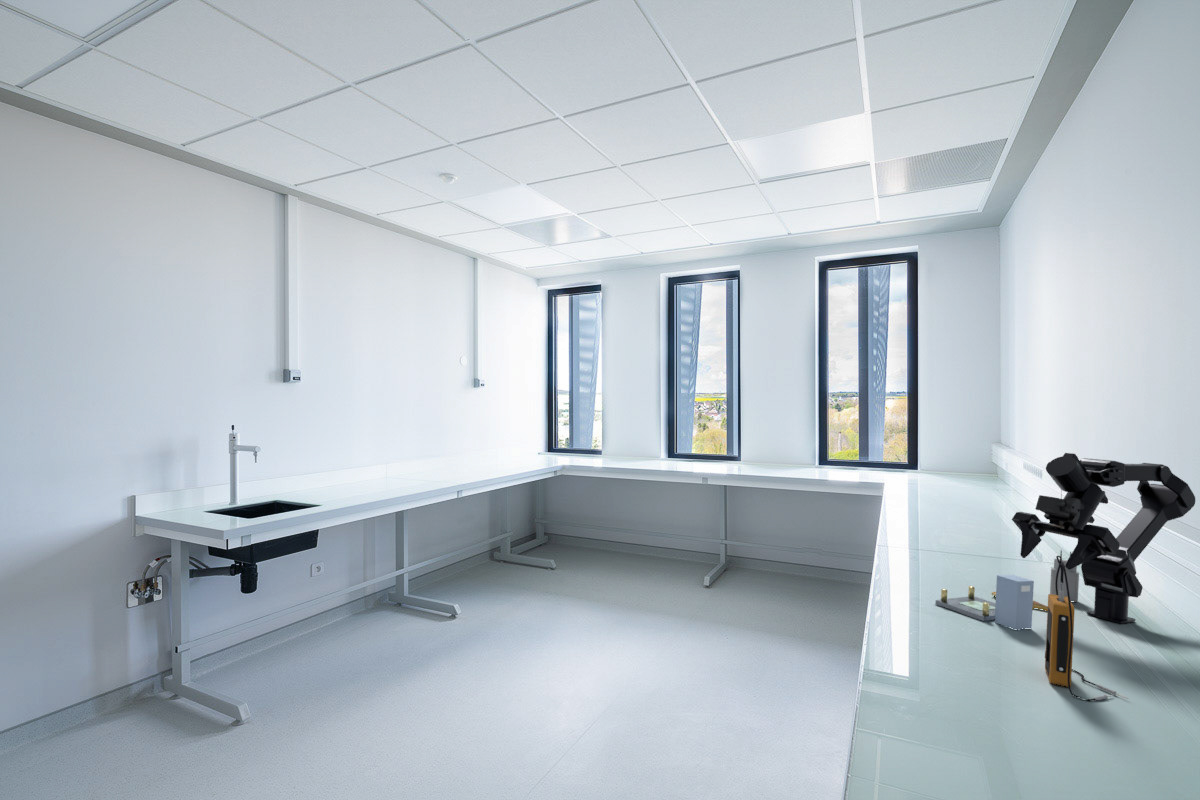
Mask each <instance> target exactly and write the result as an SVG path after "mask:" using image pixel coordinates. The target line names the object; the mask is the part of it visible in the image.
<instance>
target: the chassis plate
mask: <svg viewBox="0 0 1200 800" xmlns="http://www.w3.org/2000/svg"><path fill="white" fill-rule="evenodd" d="M975 590H976V589H975V586H972V585H969V586H968V594H967V596H961V597H952V598H948V589H945V588H941V590H940V591H941V593H940V599H936V600H935V606H938V605H939V606H938V607H941V606H942V607H941V608H944V607H945V608H944V609H947V608H948V610H949V609H951V610H950V611H952V610H954V611H953V612H955V611H956V612H955V613H958V614H962V615H964V616H967V617H969V618H972V619H975V620H978V621H980V620H982V621H981V622H983V621H984V622H989V621H988V620H992V621H995V620H994V619H995V604H996V602H994V601H990V600H986V599H984V598H980V597H978V596H975Z"/></svg>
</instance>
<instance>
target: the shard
mask: <svg viewBox="0 0 1200 800" xmlns="http://www.w3.org/2000/svg"><path fill="white" fill-rule="evenodd" d="M990 594H991V596H993V595H994V596H996V591H992V592H990ZM1033 608H1038V609H1043V610H1046V611H1048V605H1045V604H1043V603H1041V602H1039V601H1036V600H1033ZM1046 611H1045V612H1046Z"/></svg>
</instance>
